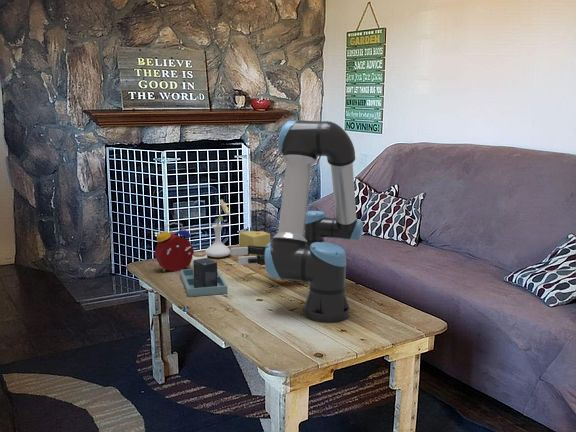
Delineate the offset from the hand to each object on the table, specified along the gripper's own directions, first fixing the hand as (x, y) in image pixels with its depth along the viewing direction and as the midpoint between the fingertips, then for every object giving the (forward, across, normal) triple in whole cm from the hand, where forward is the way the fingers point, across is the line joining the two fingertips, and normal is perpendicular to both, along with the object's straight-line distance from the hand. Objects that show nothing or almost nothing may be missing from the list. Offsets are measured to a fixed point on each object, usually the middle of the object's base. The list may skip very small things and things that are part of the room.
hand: (234, 256), depth 216 cm
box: (+11, 0, -12) cm, 16 cm away
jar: (+11, +13, -11) cm, 20 cm away
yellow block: (-18, +42, -11) cm, 47 cm away
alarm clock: (+19, +25, -12) cm, 34 cm away
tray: (+11, +5, -12) cm, 17 cm away
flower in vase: (-2, +44, -11) cm, 46 cm away
